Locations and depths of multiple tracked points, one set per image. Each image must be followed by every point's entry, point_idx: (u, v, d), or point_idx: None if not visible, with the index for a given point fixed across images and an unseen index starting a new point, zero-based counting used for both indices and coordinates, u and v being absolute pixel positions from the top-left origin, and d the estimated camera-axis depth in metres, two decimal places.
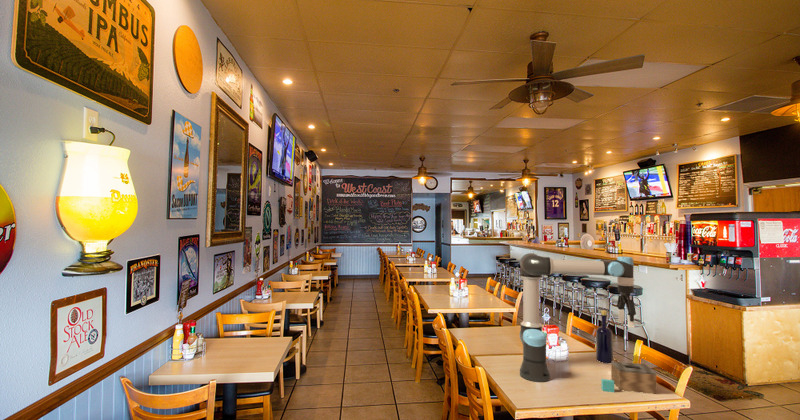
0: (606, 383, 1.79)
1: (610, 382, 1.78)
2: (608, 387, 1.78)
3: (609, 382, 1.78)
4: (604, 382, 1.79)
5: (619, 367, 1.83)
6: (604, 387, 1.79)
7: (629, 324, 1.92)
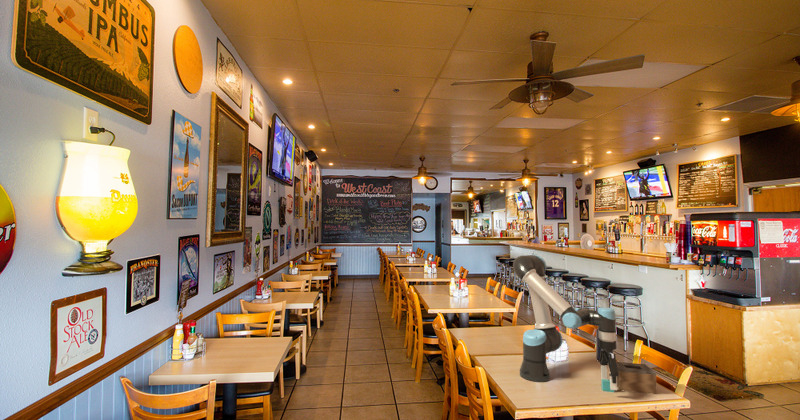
0: (606, 383, 1.79)
1: None
2: (608, 387, 1.78)
3: (609, 382, 1.78)
4: (604, 382, 1.79)
5: (619, 367, 1.83)
6: (604, 387, 1.79)
7: (611, 386, 1.72)
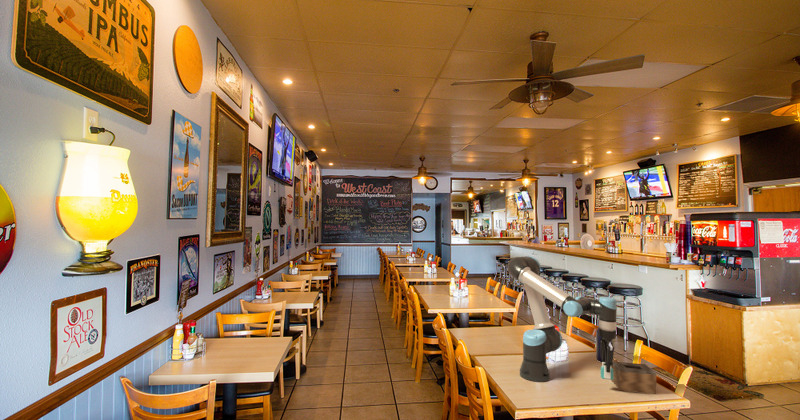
0: None
1: None
2: None
3: None
4: (603, 370, 1.80)
5: (619, 367, 1.83)
6: (603, 374, 1.79)
7: (605, 375, 1.79)
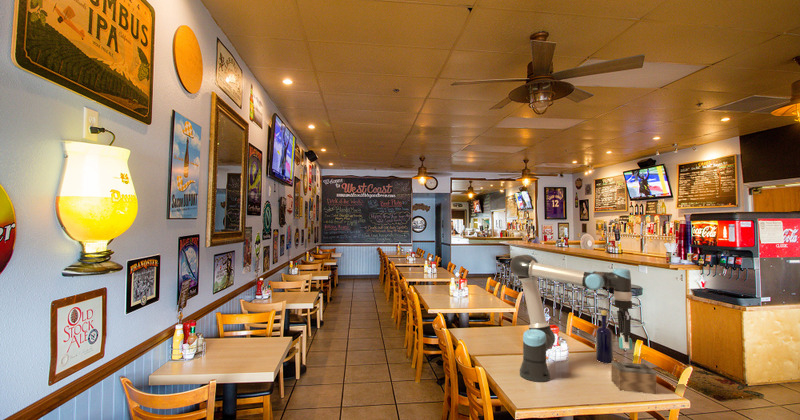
0: None
1: None
2: None
3: None
4: (621, 340, 1.82)
5: (619, 367, 1.83)
6: (622, 345, 1.82)
7: (624, 345, 1.81)
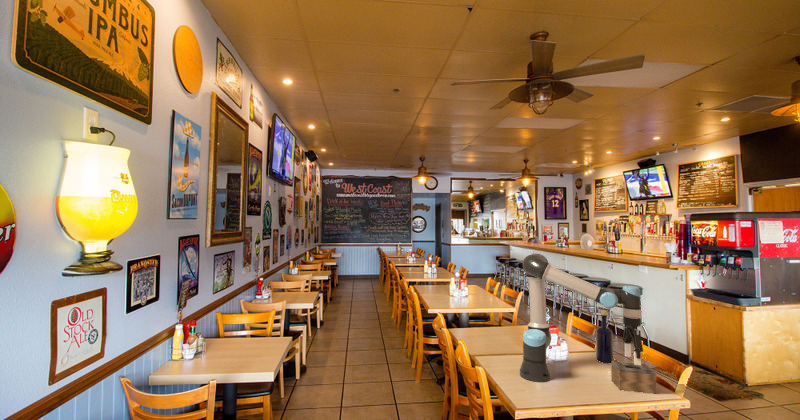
0: None
1: None
2: None
3: None
4: None
5: (619, 367, 1.83)
6: None
7: (635, 361, 1.79)
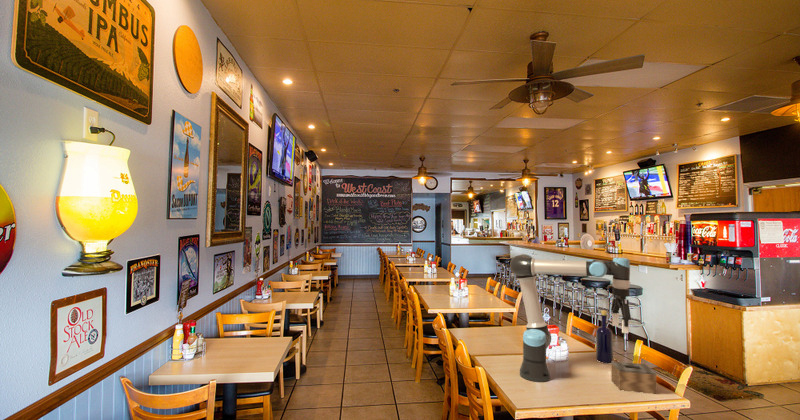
0: None
1: None
2: None
3: None
4: None
5: (619, 367, 1.83)
6: None
7: (623, 329, 1.81)
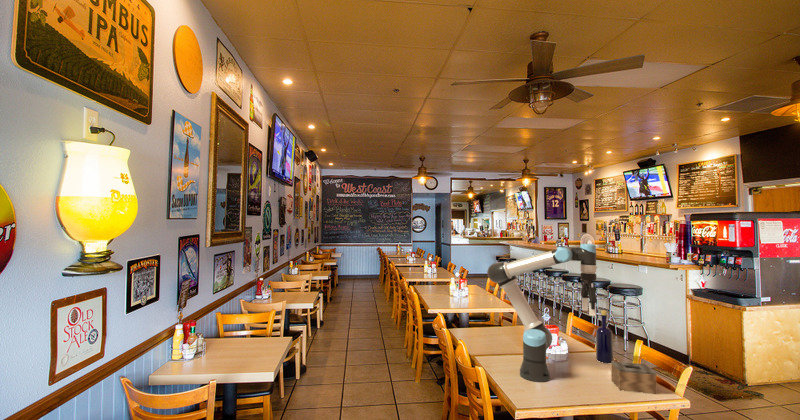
0: None
1: None
2: None
3: None
4: None
5: (619, 367, 1.83)
6: None
7: (590, 312, 1.88)
